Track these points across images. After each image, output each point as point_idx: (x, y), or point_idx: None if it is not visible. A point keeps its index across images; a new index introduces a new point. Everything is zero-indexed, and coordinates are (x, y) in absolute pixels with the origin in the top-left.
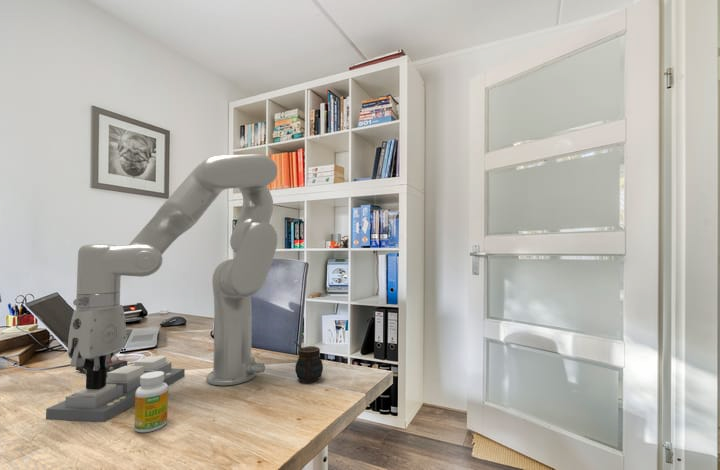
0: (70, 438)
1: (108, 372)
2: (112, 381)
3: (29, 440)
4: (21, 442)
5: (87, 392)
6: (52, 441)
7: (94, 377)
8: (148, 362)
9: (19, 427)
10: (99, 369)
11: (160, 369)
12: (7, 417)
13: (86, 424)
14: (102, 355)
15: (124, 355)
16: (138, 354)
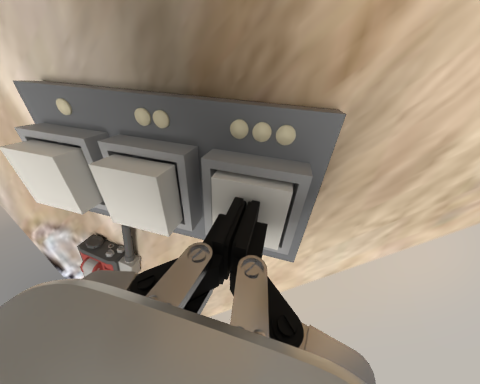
0: (436, 135)
1: (119, 251)
2: (180, 207)
3: (400, 222)
4: (405, 231)
5: (281, 219)
6: (435, 172)
7: (258, 241)
8: (60, 172)
9: (322, 264)
10: (235, 255)
11: (62, 132)
12: (279, 291)
13: (341, 152)
14: (239, 330)
15: (65, 262)
16: (50, 247)
